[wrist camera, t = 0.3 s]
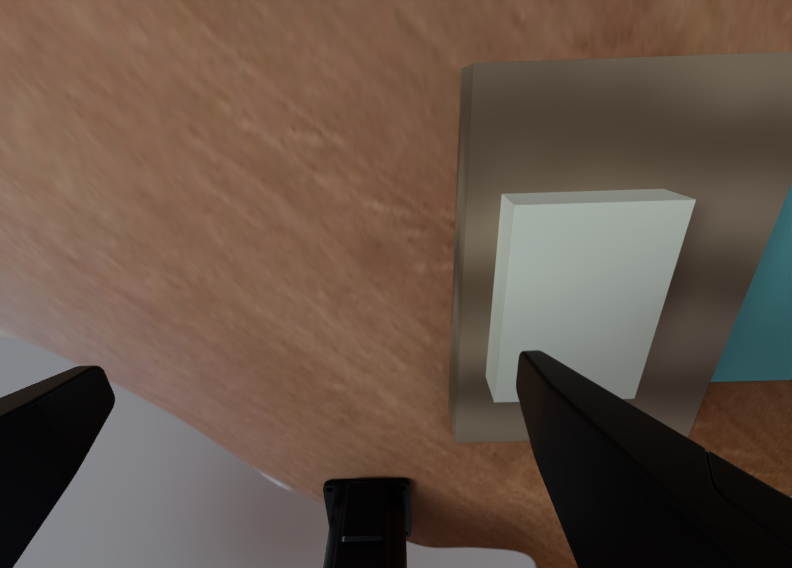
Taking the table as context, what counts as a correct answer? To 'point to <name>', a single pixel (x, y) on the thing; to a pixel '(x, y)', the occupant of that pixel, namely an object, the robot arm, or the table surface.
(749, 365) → the teal mat
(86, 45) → the table surface
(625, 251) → the white rectangular block
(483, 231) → the block
